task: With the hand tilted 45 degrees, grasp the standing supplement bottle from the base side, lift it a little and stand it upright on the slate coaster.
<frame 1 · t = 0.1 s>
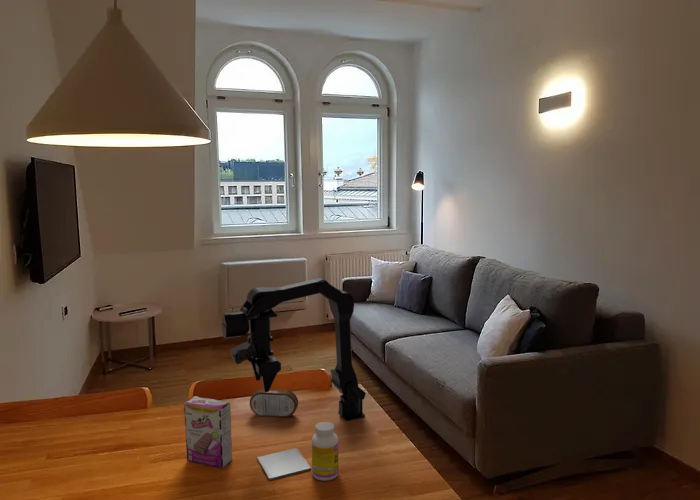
hand: (262, 386, 151), 15 cm above the table, tool pointing down, fingers open, 9 cm apart
supplement bottle: (325, 475, 132), on the table
candy bar box: (209, 461, 139), on the table
tin: (274, 416, 165), on the table
slate coaster: (283, 464, 137), on the table
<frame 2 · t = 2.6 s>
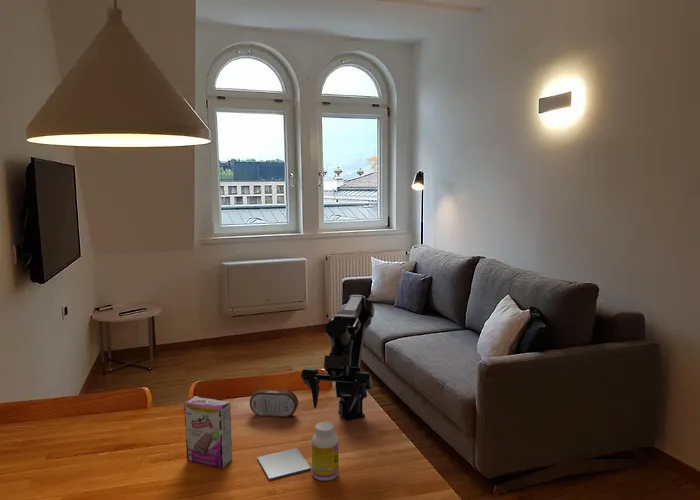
hand: (331, 409, 138), 14 cm above the table, tool tilted 45°, fingers open, 9 cm apart
nothing on the table moved.
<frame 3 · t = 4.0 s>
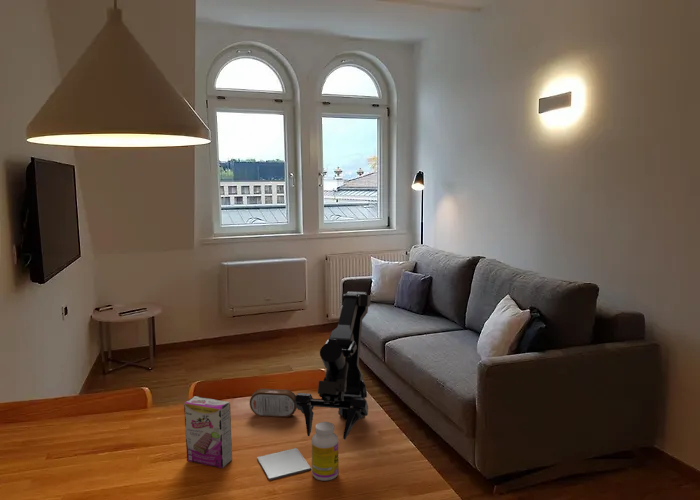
hand: (326, 437, 132), 9 cm above the table, tool tilted 45°, fingers open, 9 cm apart
nothing on the table moved.
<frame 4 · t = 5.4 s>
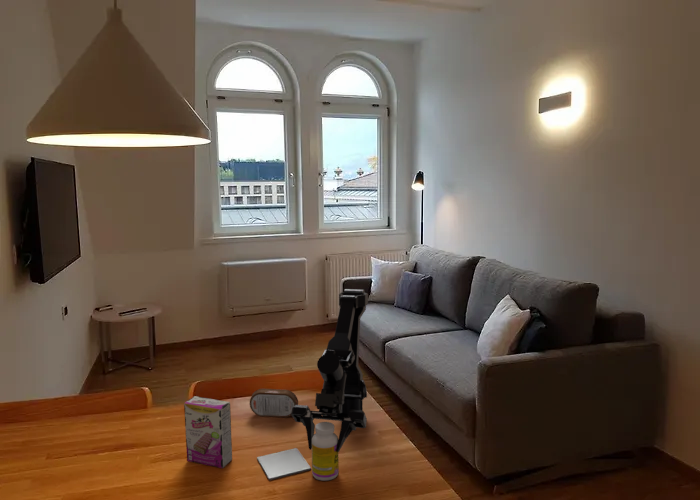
hand: (323, 450, 130), 7 cm above the table, tool tilted 45°, fingers closed on supplement bottle, 7 cm apart
supplement bottle: (325, 475, 132), on the table, touching gripper
everything else where it was.
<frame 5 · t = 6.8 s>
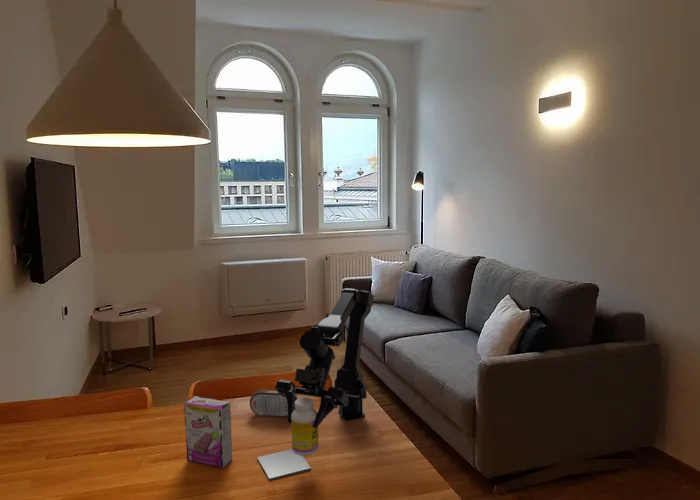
hand: (302, 425, 131), 13 cm above the table, tool tilted 45°, fingers closed on supplement bottle, 7 cm apart
supplement bottle: (305, 450, 133), point 5 cm above the table, touching gripper
everything else where it was.
when the fingers open (8 cm above the table, at t = 8.7 s): supplement bottle stays where it is, resting on slate coaster.
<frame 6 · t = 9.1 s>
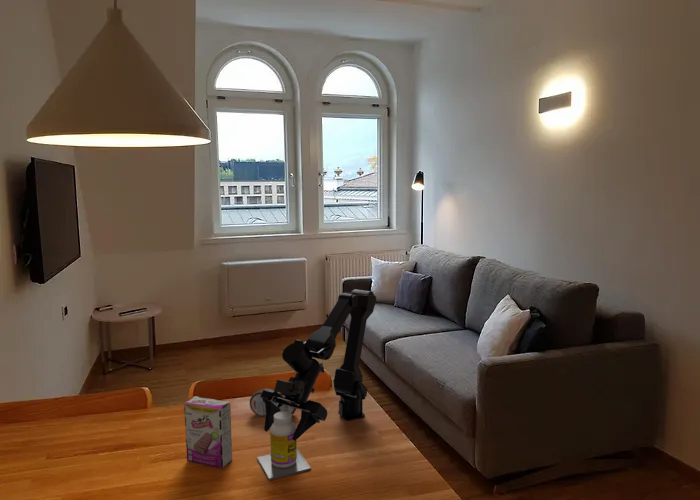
hand: (279, 435, 135), 9 cm above the table, tool tilted 45°, fingers open, 9 cm apart
supplement bottle: (284, 462, 137), resting on slate coaster
everything else where it was.
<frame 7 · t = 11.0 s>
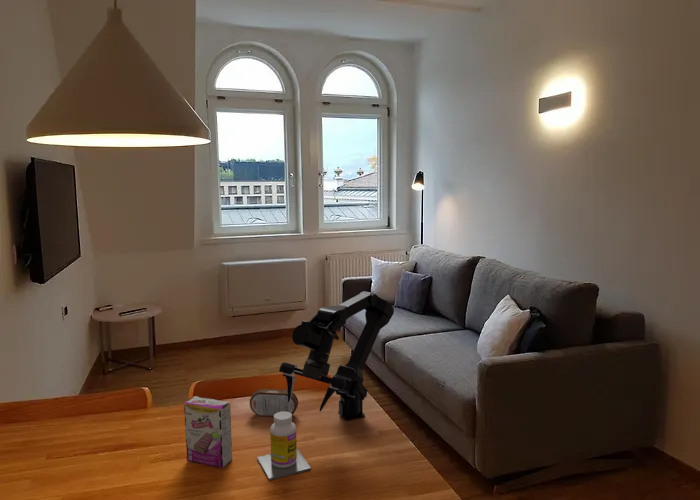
hand: (304, 406, 147), 10 cm above the table, tool tilted 25°, fingers open, 9 cm apart
nothing on the table moved.
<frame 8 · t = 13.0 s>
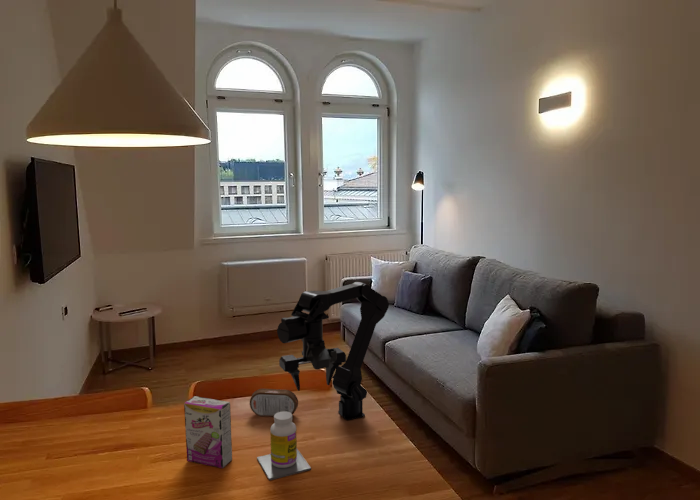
hand: (313, 387, 153), 13 cm above the table, tool pointing down, fingers open, 9 cm apart
nothing on the table moved.
at the end: supplement bottle inside the target area on the slate coaster (0.2 cm from its centre), point 0.3 cm above the slate coaster's base; supplement bottle tilted 0°; the gripper is holding nothing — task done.
